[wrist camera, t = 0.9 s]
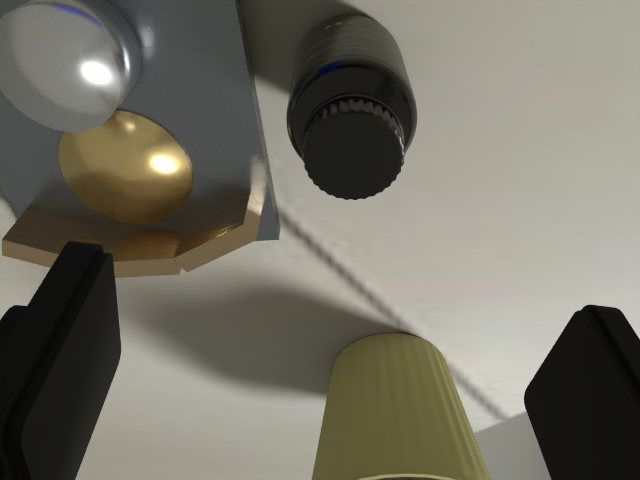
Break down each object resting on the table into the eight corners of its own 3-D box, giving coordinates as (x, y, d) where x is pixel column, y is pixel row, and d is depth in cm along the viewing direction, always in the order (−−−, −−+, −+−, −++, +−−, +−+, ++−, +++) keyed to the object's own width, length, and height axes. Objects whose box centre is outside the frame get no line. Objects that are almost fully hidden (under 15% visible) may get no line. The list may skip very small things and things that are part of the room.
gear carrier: (231, -46, 30) (214, -23, 26) (280, 227, 42) (273, 274, 38) (-91, -13, 32) (-158, 14, 28) (44, 242, 44) (12, 288, 40)
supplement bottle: (408, 105, 36) (433, 207, 26) (309, 124, 37) (299, 230, 27) (394, -3, 32) (418, 74, 22) (283, 23, 33) (260, 107, 23)
